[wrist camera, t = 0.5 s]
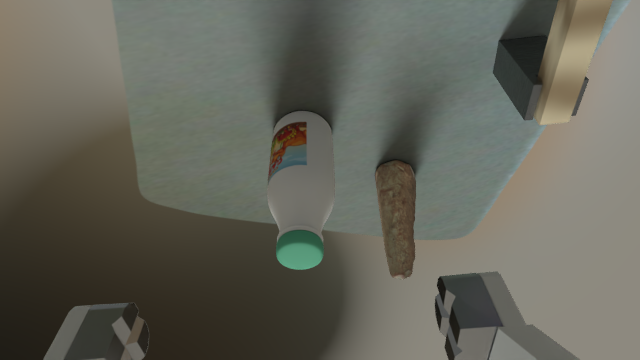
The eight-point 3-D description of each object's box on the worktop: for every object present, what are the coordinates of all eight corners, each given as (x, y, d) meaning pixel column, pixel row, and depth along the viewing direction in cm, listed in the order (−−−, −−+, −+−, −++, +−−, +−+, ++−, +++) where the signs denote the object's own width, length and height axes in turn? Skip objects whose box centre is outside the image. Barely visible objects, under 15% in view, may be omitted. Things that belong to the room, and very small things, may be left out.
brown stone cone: (389, 149, 57) (364, 177, 61) (388, 248, 44) (357, 276, 47) (425, 170, 59) (399, 196, 63) (436, 272, 45) (402, 297, 49)
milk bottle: (330, 106, 52) (338, 228, 37) (333, 154, 57) (341, 278, 42) (269, 110, 52) (252, 234, 37) (277, 158, 57) (266, 282, 42)
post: (498, 40, 46) (533, 85, 39) (545, 35, 46) (588, 79, 39) (492, 73, 49) (524, 120, 42) (536, 68, 49) (575, 115, 41)
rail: (603, -165, 28) (626, -162, 26) (646, -171, 28) (673, -169, 26) (528, 109, 43) (539, 125, 41) (556, 106, 43) (568, 122, 41)
